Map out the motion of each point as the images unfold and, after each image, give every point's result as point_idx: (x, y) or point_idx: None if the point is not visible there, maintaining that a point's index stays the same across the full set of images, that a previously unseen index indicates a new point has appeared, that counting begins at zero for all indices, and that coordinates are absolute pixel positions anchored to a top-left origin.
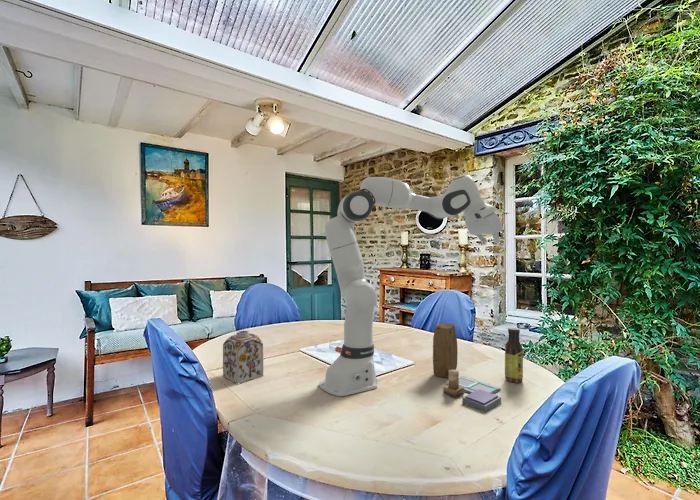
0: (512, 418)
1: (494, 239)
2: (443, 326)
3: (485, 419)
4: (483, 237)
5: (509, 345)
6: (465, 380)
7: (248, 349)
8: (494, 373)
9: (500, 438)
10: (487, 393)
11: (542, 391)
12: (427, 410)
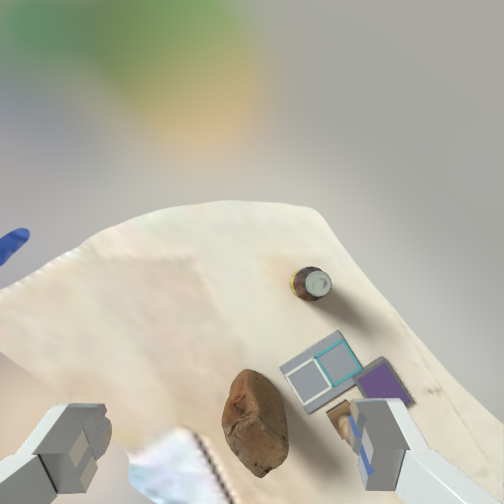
0: (429, 368)
1: (410, 493)
2: (265, 456)
3: (429, 409)
4: (27, 472)
5: (318, 297)
6: (301, 374)
7: None
8: (267, 298)
9: (478, 416)
10: (376, 376)
11: (350, 265)
12: None
